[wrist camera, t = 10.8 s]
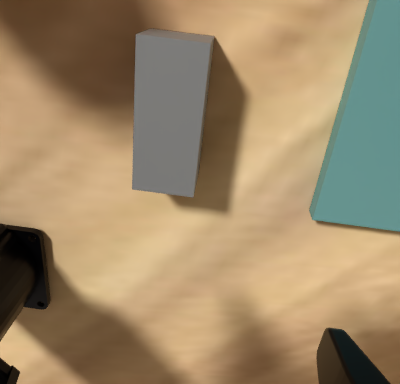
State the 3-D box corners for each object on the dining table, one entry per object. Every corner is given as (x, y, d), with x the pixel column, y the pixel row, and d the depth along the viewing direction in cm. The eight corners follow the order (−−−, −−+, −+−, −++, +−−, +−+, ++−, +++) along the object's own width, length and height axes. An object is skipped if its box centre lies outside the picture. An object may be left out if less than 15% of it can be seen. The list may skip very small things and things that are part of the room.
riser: (198, 171, 21) (193, 197, 18) (145, 164, 21) (132, 189, 18) (214, 36, 17) (210, 43, 15) (151, 28, 17) (135, 34, 15)
